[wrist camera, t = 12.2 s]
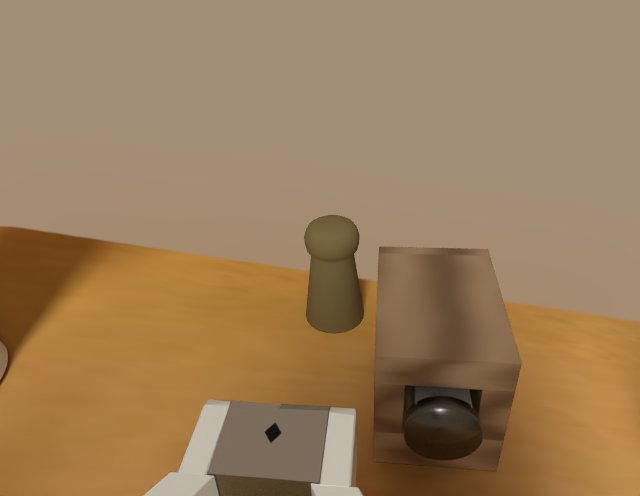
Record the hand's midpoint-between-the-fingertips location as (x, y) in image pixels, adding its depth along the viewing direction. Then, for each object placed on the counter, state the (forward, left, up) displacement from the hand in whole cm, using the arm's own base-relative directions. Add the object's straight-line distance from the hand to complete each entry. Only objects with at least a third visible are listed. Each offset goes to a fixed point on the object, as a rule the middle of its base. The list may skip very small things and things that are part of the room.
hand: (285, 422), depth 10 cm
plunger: (+6, +22, -23) cm, 32 cm away
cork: (-3, +34, -26) cm, 43 cm away
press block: (+6, +23, -26) cm, 35 cm away
